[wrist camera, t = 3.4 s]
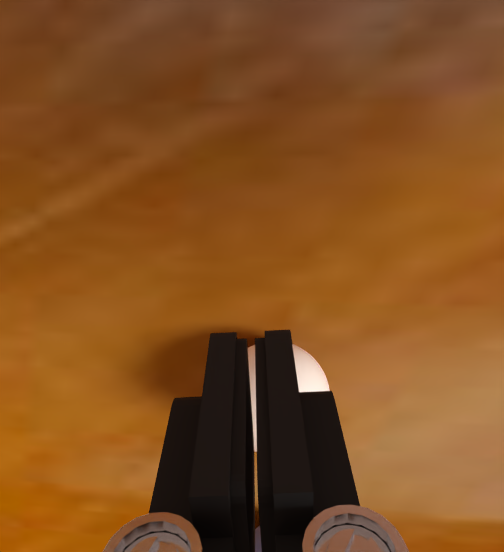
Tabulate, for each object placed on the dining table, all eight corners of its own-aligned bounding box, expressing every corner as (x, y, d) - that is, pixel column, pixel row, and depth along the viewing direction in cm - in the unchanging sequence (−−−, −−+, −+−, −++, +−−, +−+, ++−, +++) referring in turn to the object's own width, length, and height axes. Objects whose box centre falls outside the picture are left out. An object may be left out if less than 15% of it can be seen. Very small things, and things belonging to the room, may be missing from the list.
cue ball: (219, 322, 25) (209, 392, 20) (323, 318, 25) (339, 387, 20) (226, 402, 27) (220, 482, 22) (322, 399, 27) (336, 479, 22)
